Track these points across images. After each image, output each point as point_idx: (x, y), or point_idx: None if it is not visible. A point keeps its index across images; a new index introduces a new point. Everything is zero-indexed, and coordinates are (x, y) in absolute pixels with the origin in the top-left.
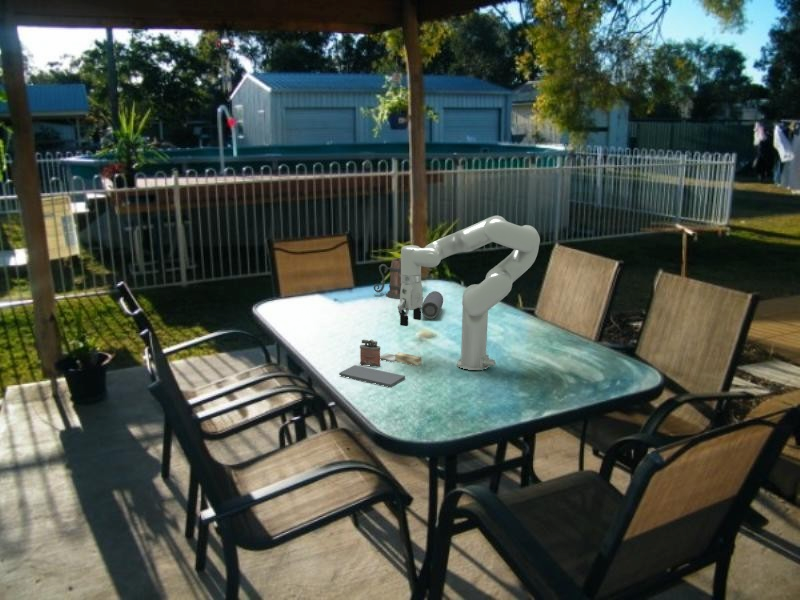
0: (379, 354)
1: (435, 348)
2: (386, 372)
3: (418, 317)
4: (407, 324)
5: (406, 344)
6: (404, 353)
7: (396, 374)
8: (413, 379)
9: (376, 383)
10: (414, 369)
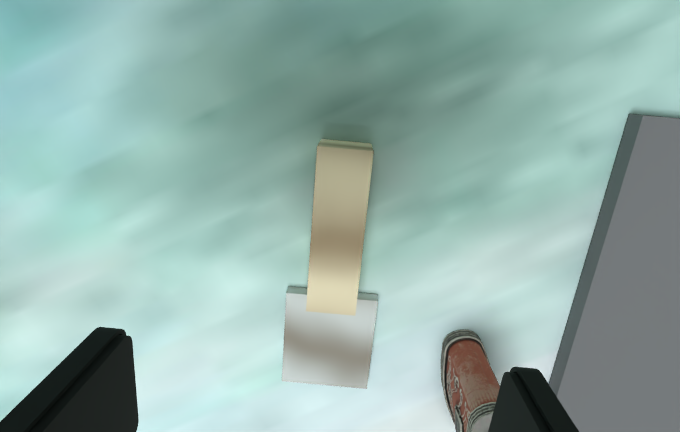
0: (484, 378)
1: (3, 179)
2: (611, 245)
3: (112, 380)
4: (547, 384)
5: (57, 353)
6: (309, 274)
7: (631, 177)
8: (619, 61)
9: None
10: (436, 135)
